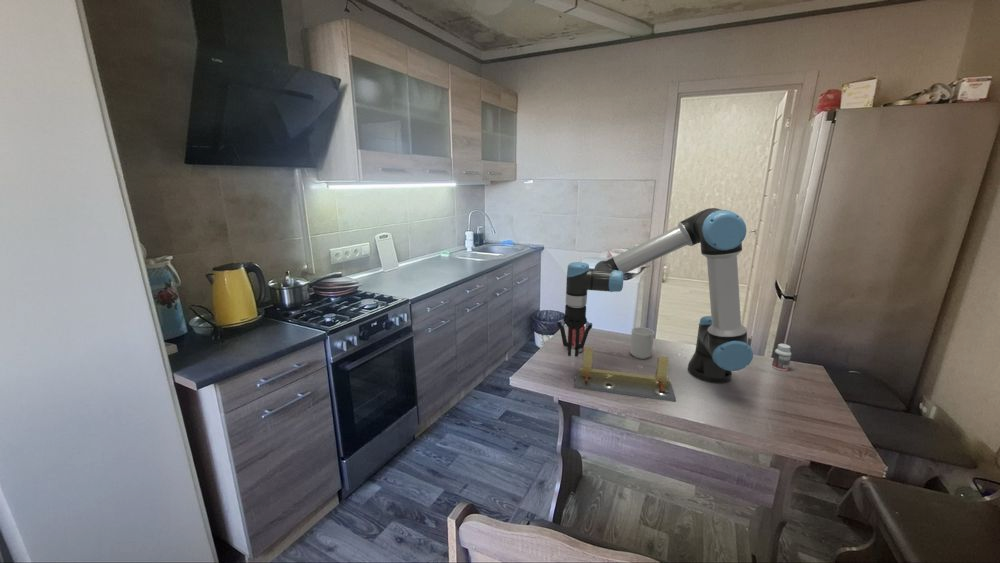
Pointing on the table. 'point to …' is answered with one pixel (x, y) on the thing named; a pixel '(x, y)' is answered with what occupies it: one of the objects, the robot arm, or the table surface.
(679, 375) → the table surface
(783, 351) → the pill bottle
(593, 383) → the bolt plate
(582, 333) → the soda can
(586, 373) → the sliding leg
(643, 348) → the mug
